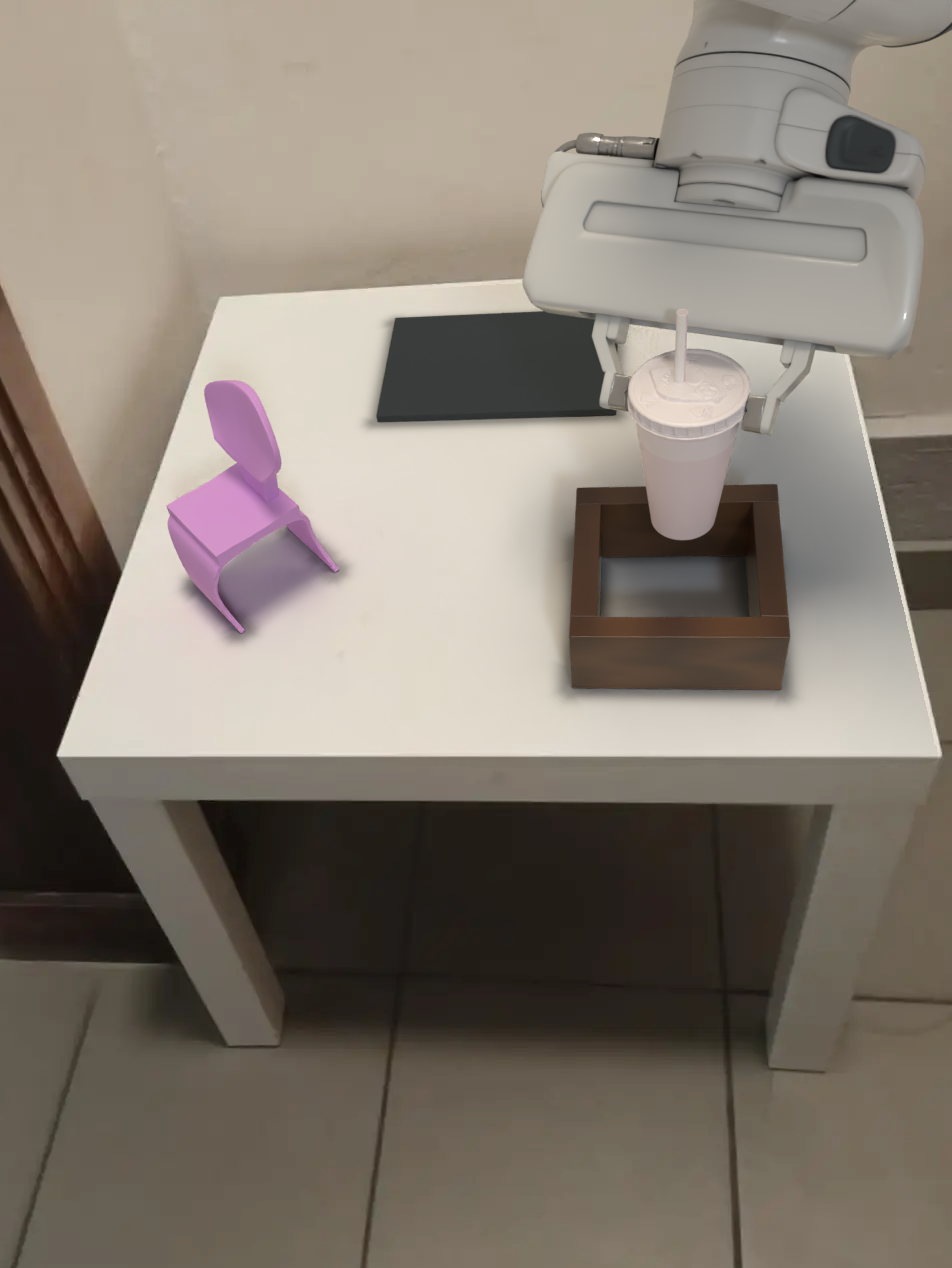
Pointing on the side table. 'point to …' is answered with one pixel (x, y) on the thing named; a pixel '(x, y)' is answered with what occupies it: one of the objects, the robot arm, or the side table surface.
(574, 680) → the crate
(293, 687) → the side table surface
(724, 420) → the smoothie
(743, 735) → the side table surface
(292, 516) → the toy chair
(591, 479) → the side table surface
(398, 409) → the mat
